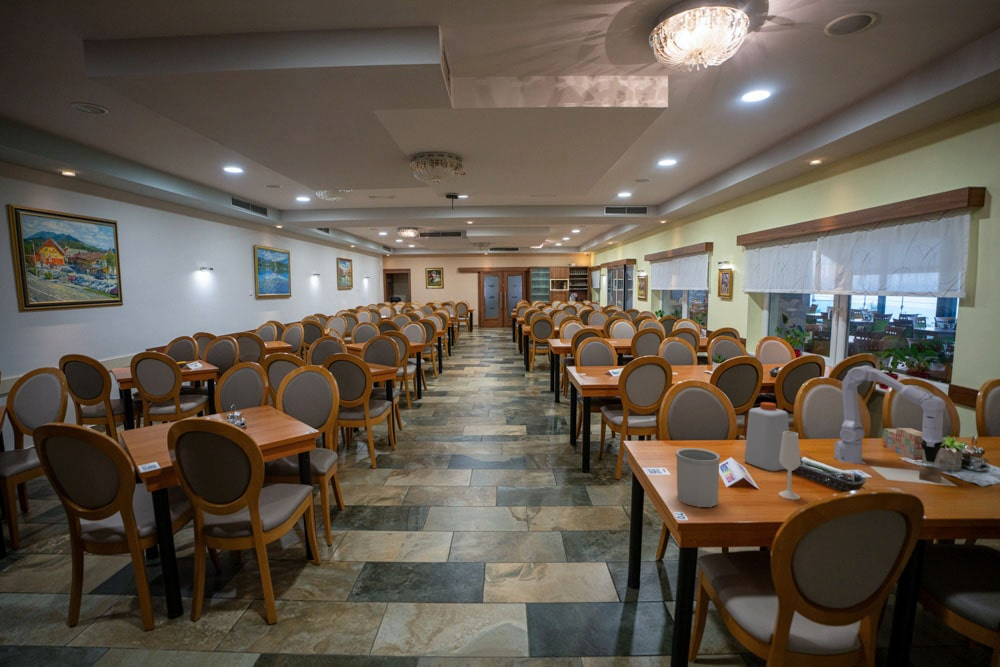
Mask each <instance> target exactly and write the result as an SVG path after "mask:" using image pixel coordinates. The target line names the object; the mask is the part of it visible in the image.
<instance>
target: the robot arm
mask: <svg viewBox="0 0 1000 667" xmlns="http://www.w3.org/2000/svg"><path fill="white" fill-rule="evenodd" d="M866 381H867V382H879V383H881V384H883V385H884V386H887V387H889V388H891V389H893V390H896V391H898V392H899V393H900V395H901V397H903V399H904V398H905V399H906V400H909V401H910V402H912V403H914V404H916V405H917V406H920V407H921V409H922V410H923V413H922V429H921V430H922V431H921V432H922V436H921V438H922V439H923V443H921V446H922V447H923V449H924V452H925V456H926V460H927V462H933V463H934V462H935V459H936V455H937V453H938V451H939V450H940V449H941V448H942V445H943V443H946V442H947V439H945V438H943V430H944V429H943V428H944V427H943V426H944V425H943V424H944V409H945V408H946V401H945V400H944V399H943V398H941V396H937V395H933V393H931V392H930V393H928V392H926V391H924V390H923V389H920V387H919V386H918V385H912V384H909V385H905V384H904V383H902V382H900V381H899V380H897V379H896V378H893V377H891V376H889V374H888V375H887V374H886V373H884V372H883V371H881V370H879V369H877V368H875V367H873V366H871V365H868V364H866V365H862V366H855V367H852V368H850V369H849V370H847V374H846V375H845V376H844V378H843V380H842V381H841V390H842V392H841V393H842V406H843V420H844V421H843V422H842V424H841V429H840V432H839V437H840V439H841V440H836V441H834V442H835V443H834V455H833V458H835V459H836V460H838V461H839V462H840V463H850V464H860V465H861V464H862V465H866V462H865V461H863V439H864V438H865V436H866V432H865V430H864V429H863V424H862V422H861V421H860V413H859V412H860V411H859V398H858V386H859V385H861V384H862V383H863V382H866Z"/></svg>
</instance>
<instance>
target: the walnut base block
mask: <svg viewBox="0 0 1000 667" xmlns="http://www.w3.org/2000/svg"><path fill="white" fill-rule="evenodd" d="M918 471H919V479H920V480H925V481H929V482H934V483H939V484H940V483H941V476H942V474H943V469H942V468H941V467H936V466H931V465H925V464H920V466H919V470H918ZM942 477H943V476H942ZM939 484H938V485H939Z"/></svg>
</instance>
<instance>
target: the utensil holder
mask: <svg viewBox="0 0 1000 667" xmlns="http://www.w3.org/2000/svg"><path fill="white" fill-rule="evenodd" d="M675 457H676V487H677V490H676V491H677V499H678V498H679V499H680V500H681V501H682V503H683V502H684V503H683V504H685V503H687V504H690V505H693V506H692V507H694V506H698V507H697V508H700V507H710V508H713V507H712V506H714V507H716V506H718V505H719V504H718V503H719V483H720V482H719V481H720V480H719V479H720V461H721V456H720V454H718V453H717V452H716V451H713V450H710V449H704V448H695V447H685V448H679V449H677V450H676V451H675ZM679 499H678V500H679ZM680 500H679V501H680ZM681 501H680V502H681ZM687 504H686V505H687ZM690 505H689V506H690ZM715 505H716V506H715Z"/></svg>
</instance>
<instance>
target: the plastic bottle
mask: <svg viewBox="0 0 1000 667" xmlns="http://www.w3.org/2000/svg"><path fill="white" fill-rule="evenodd" d="M789 426H790V425H789V413H788V412H787V411H785V410H784V409H783V410H782V409H779V408H777V403H774V402H767V401H762V402H760V405H759V407H753V408H750V409H749V410H748V419H747V427H746V428H747V429H746V440H745V449H744V461H745V463H746V462H747V463H746V464H748V463H749V464H748V465H750V464H752V465H751V466H753V465H754V466H753V467H756V466H757V467H756V468H758V467H759V469H761V468H762V470H764V469H765V470H764V471H768V470H769V472H777V471H782V470H786V469H785V468H784V467H783V466H782V465H781V463H780V461H779V458H780V451H781V443H782V436H783V432H784V431H790V429H789V428H790V427H789Z"/></svg>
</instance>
